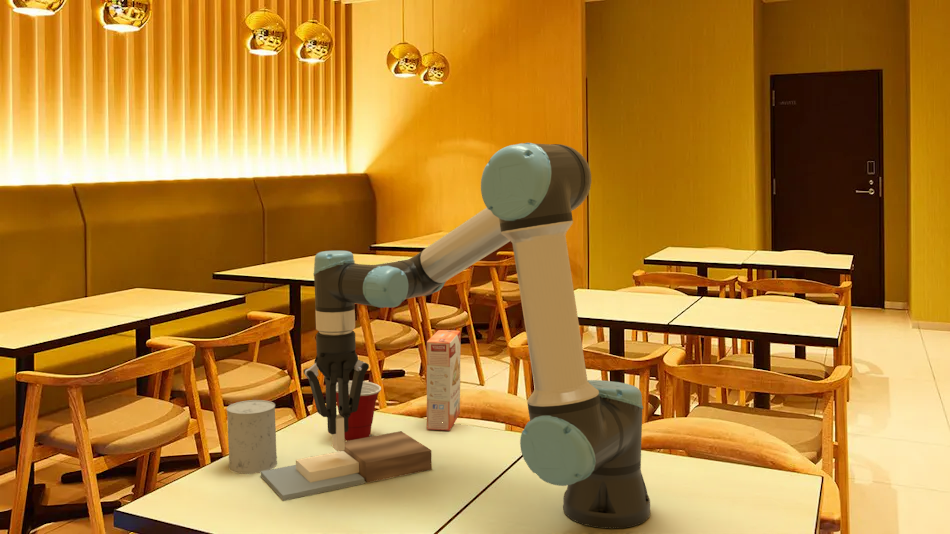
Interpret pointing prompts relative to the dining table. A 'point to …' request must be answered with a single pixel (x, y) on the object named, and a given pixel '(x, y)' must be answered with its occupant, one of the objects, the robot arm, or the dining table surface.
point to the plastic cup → (361, 411)
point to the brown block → (388, 456)
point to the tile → (327, 466)
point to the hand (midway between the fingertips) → (338, 448)
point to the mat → (304, 482)
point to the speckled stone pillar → (251, 436)
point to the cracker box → (443, 379)
